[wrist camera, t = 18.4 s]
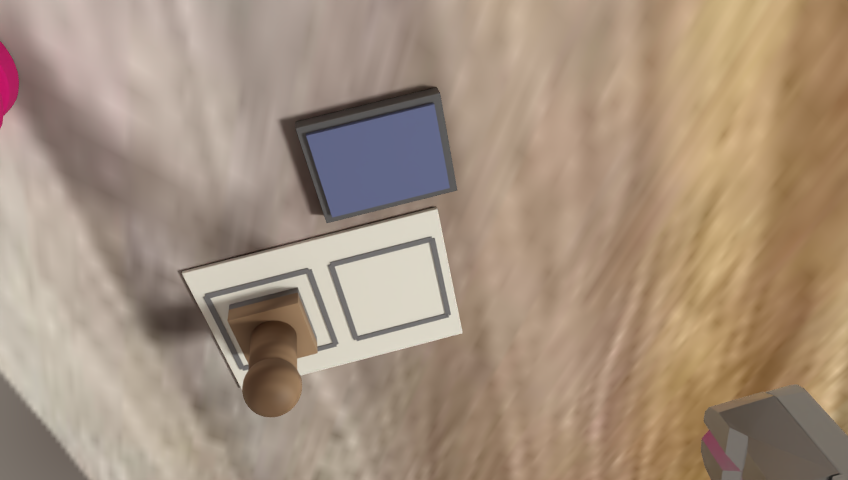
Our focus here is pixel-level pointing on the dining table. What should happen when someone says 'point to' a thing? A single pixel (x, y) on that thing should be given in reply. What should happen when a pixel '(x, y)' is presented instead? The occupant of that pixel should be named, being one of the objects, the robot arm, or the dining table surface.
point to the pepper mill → (7, 82)
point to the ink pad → (378, 154)
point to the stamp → (273, 349)
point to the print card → (343, 290)
